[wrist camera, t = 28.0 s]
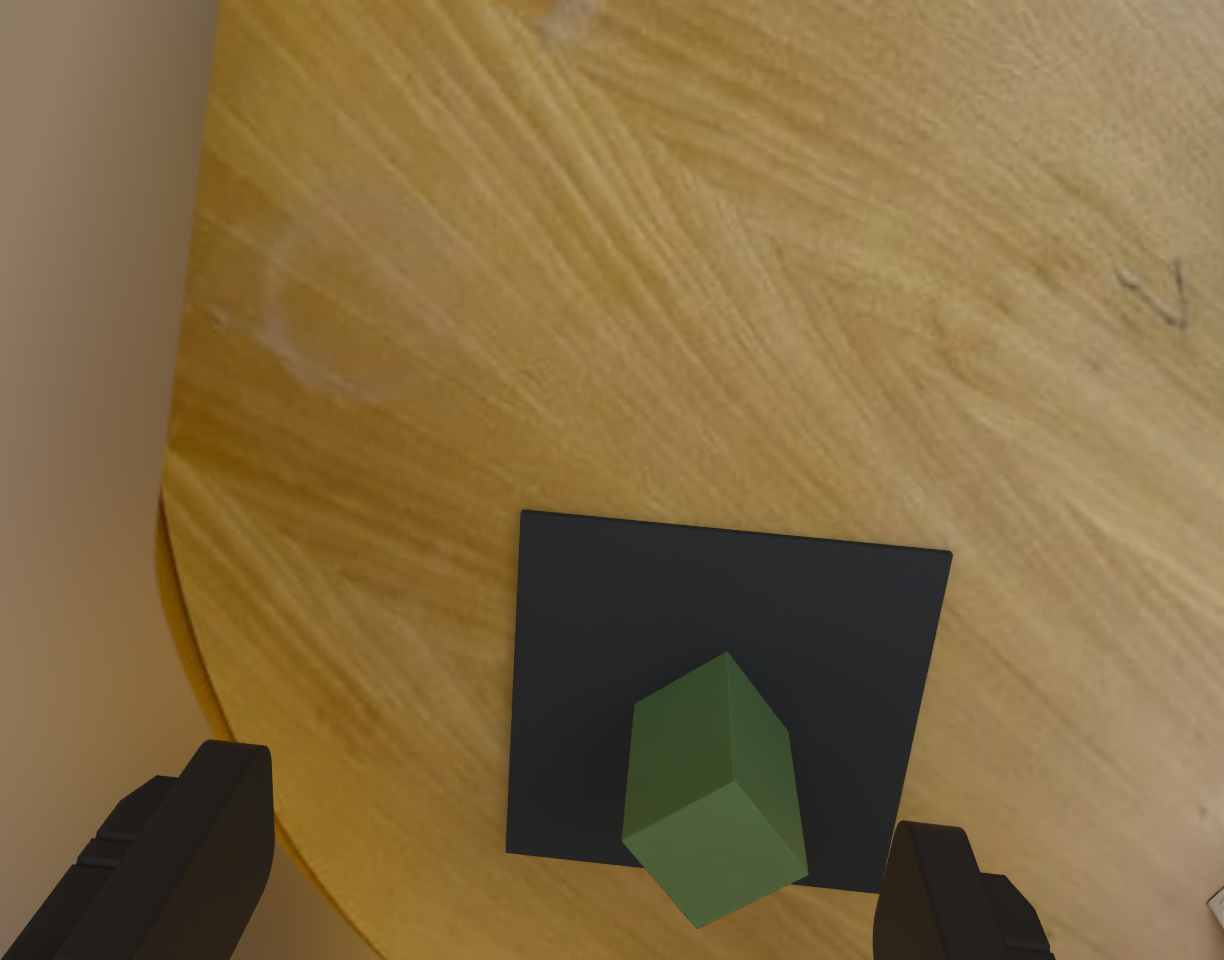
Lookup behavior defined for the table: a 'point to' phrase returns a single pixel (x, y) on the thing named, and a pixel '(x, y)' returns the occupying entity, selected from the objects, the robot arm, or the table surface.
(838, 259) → the table surface
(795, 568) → the slate mat
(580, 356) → the table surface
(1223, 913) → the ink box
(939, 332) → the table surface
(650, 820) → the green block
